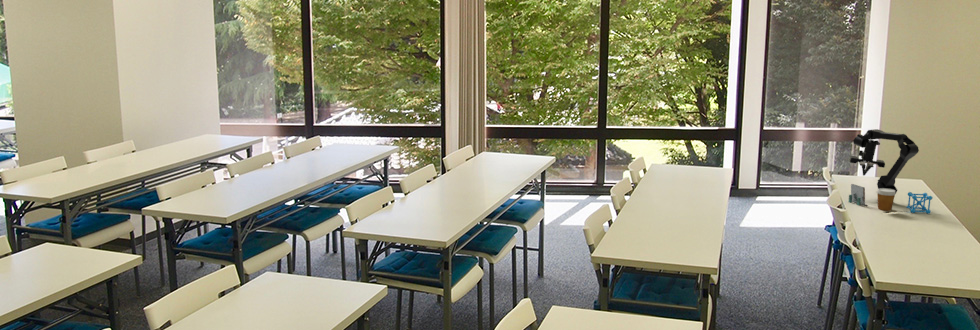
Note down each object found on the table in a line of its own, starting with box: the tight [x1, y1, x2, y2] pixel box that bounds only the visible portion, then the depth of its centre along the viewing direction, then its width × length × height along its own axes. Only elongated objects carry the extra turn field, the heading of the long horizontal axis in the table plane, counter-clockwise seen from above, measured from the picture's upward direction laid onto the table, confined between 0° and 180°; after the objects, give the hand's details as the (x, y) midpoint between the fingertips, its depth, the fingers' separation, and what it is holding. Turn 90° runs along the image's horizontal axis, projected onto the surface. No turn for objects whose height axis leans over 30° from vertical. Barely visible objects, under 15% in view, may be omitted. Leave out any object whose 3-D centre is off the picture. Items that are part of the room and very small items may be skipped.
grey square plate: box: [850, 183, 866, 206], centre depth 438 cm, size 1×10×11 cm, turn 13°
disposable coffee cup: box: [876, 188, 897, 214], centre depth 425 cm, size 10×10×12 cm
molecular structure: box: [906, 191, 933, 215], centre depth 425 cm, size 10×10×10 cm
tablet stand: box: [847, 194, 869, 207], centre depth 440 cm, size 10×13×6 cm
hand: (863, 175), depth 457 cm, fingers closed
